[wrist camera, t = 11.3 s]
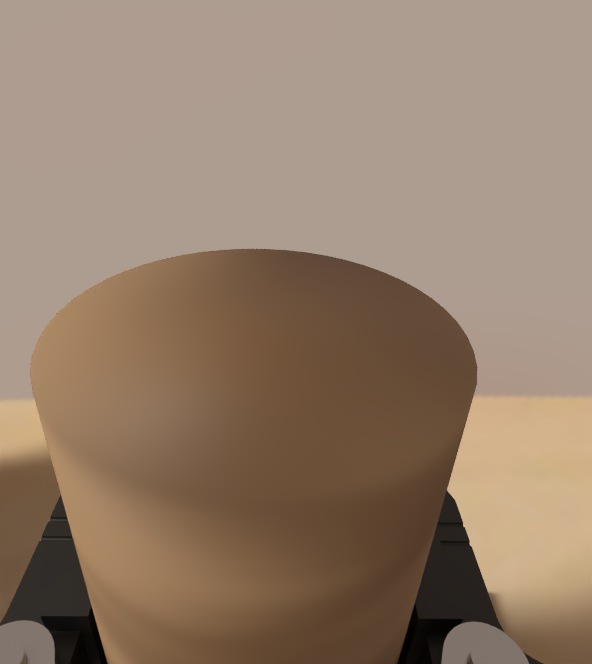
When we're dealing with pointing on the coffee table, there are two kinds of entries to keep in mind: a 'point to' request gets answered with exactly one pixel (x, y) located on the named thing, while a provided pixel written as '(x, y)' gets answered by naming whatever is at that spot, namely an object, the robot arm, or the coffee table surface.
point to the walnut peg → (253, 454)
